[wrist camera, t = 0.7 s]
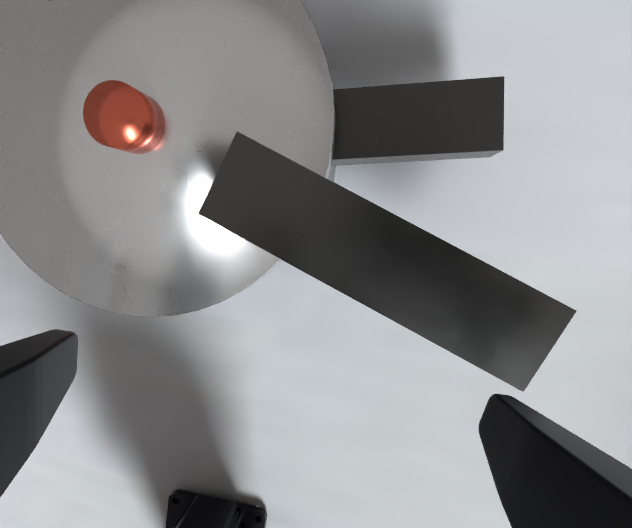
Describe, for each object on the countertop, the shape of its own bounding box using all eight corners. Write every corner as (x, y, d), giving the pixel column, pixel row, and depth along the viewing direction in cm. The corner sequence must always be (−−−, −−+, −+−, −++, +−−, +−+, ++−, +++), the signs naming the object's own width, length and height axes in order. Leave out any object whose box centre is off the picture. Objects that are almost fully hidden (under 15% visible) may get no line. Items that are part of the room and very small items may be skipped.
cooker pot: (60, 281, 27) (-47, 303, 20) (35, 38, 25) (-90, -29, 18) (471, 273, 24) (513, 296, 17) (472, -7, 22) (519, -109, 15)
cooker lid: (-63, 208, 20) (-171, 205, 16) (62, -140, 17) (-29, -246, 13) (409, 477, 18) (419, 548, 14) (621, 139, 16) (706, 113, 12)
